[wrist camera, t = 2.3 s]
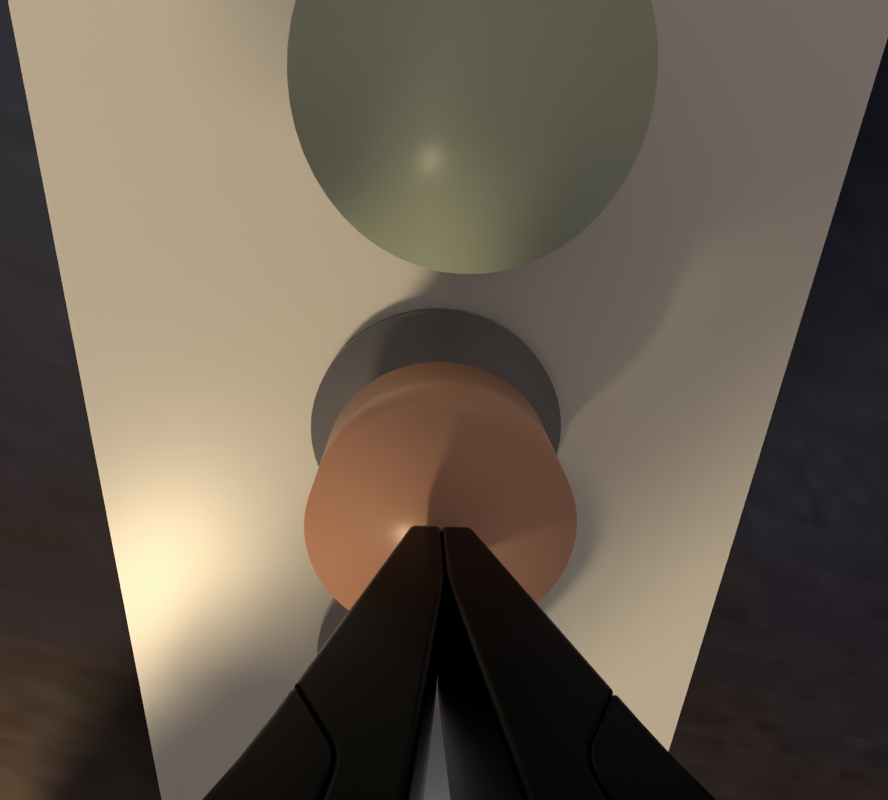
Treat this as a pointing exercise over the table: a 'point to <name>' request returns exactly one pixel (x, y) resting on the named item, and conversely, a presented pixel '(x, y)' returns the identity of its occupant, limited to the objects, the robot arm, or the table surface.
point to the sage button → (471, 119)
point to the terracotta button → (438, 478)
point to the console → (419, 332)
